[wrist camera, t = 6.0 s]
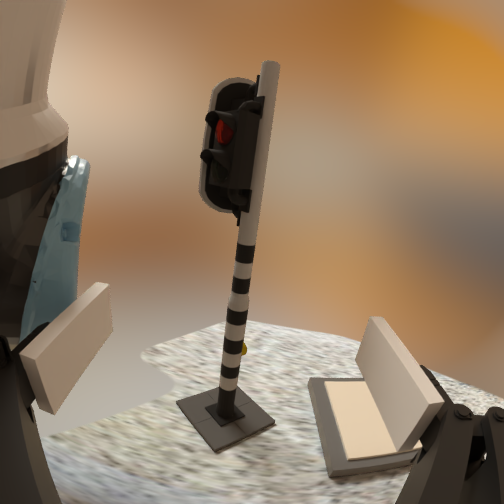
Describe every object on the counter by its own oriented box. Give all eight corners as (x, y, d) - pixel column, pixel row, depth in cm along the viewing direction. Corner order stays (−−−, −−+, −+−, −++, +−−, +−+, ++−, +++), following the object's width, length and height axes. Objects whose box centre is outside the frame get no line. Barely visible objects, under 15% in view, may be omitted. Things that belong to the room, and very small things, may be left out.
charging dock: (328, 477, 19) (334, 468, 19) (307, 385, 32) (310, 375, 31) (457, 451, 20) (464, 442, 19) (414, 382, 32) (418, 373, 32)
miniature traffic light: (229, 380, 31) (269, 82, 23) (274, 422, 26) (342, 74, 17) (168, 400, 26) (192, 59, 18) (209, 454, 21) (258, 31, 12)
